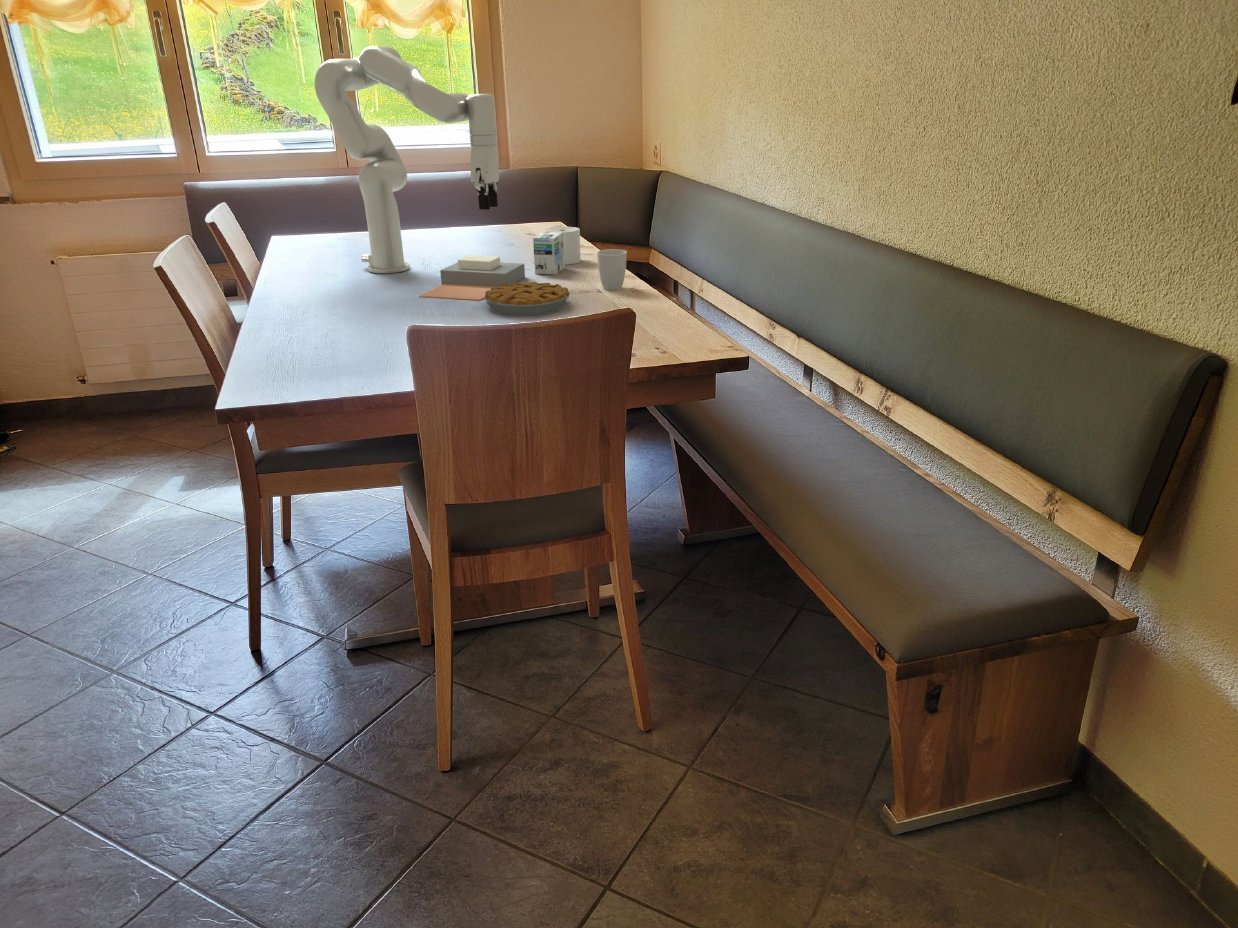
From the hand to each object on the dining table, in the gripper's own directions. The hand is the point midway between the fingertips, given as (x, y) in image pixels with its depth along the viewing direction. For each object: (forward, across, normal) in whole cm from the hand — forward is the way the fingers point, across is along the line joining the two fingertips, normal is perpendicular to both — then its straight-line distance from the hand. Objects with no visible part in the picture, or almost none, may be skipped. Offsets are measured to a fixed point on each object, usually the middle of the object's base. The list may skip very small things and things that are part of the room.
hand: (488, 207), depth 255 cm
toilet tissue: (+20, -22, +14) cm, 33 cm away
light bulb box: (+20, -8, +15) cm, 26 cm away
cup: (+20, +9, +40) cm, 46 cm away
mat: (+19, +24, +1) cm, 30 cm away
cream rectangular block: (+14, +9, 0) cm, 17 cm away
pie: (+20, +33, +25) cm, 46 cm away
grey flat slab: (+19, +9, +1) cm, 21 cm away
